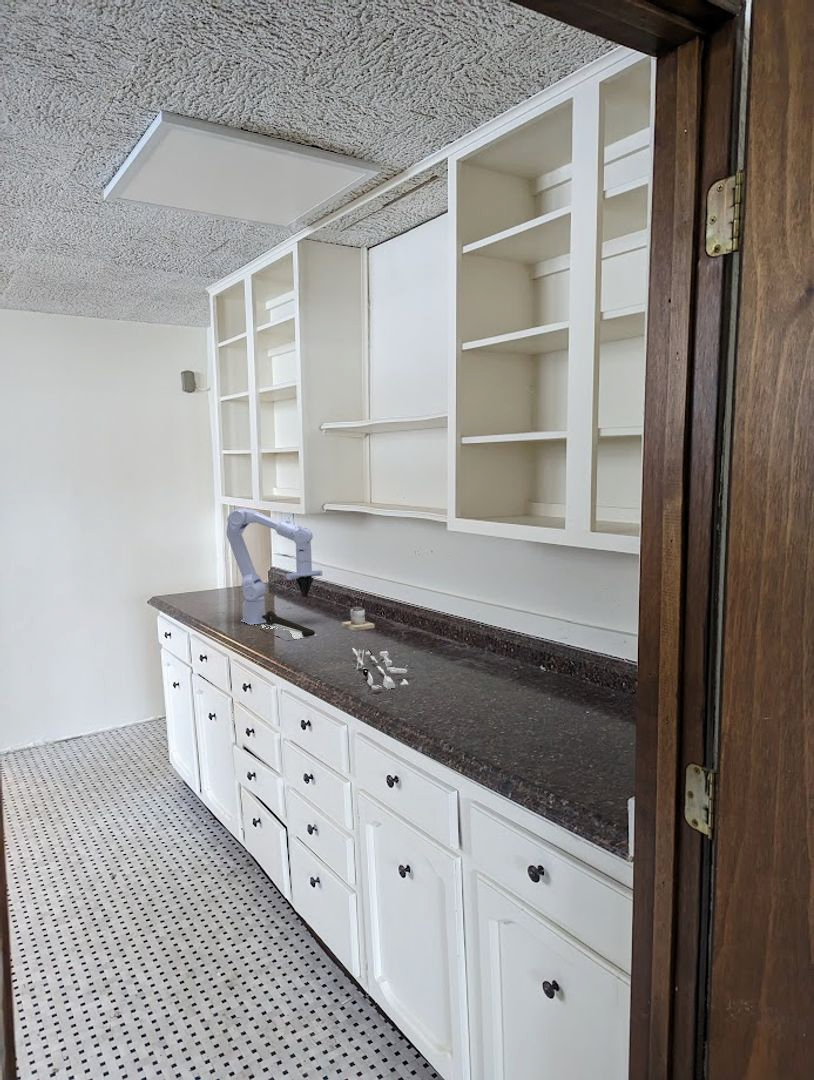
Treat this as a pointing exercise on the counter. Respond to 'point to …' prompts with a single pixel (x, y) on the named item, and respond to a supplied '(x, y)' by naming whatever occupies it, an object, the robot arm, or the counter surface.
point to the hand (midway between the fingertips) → (304, 596)
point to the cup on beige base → (358, 620)
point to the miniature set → (387, 680)
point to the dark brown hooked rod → (286, 623)
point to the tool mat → (295, 633)
